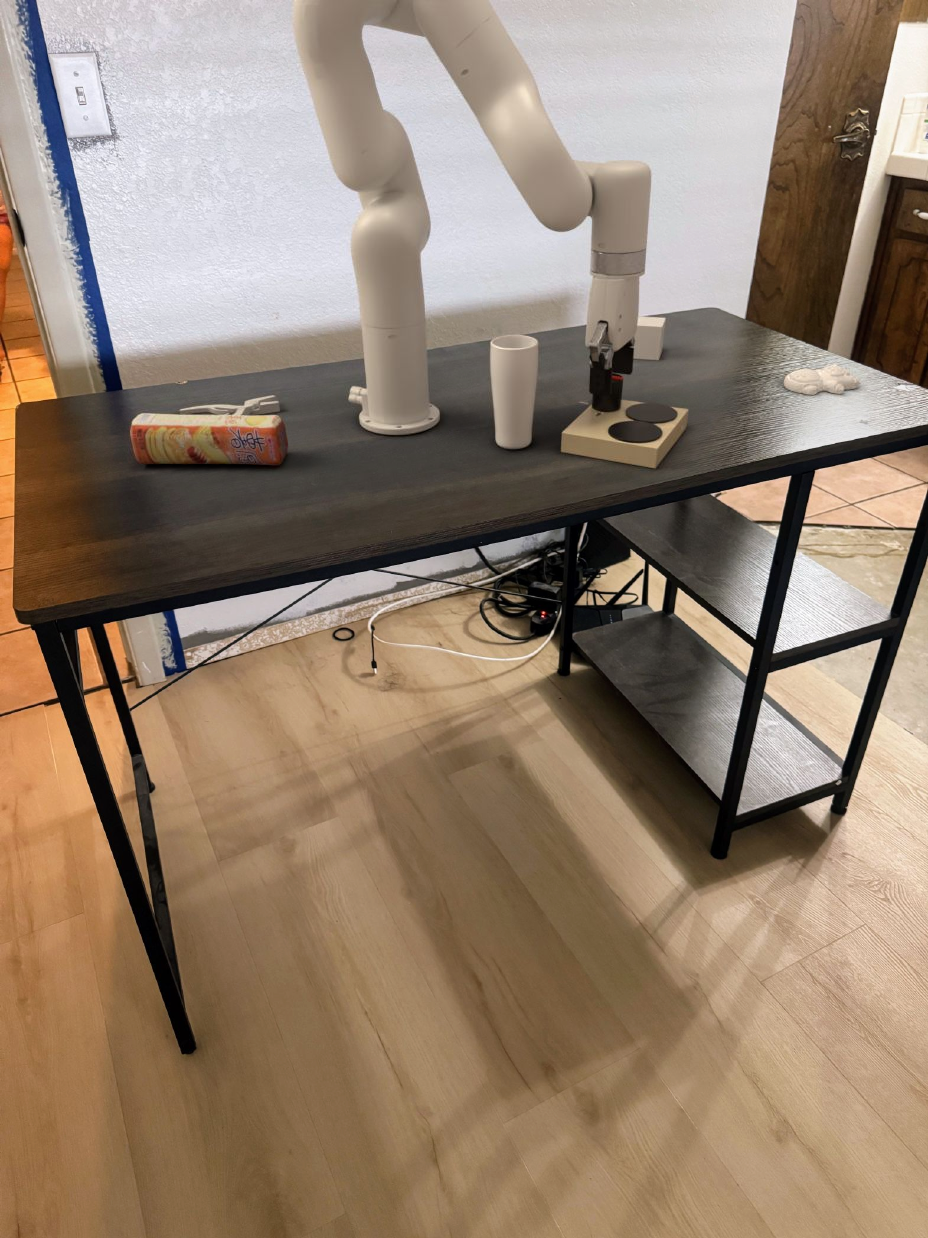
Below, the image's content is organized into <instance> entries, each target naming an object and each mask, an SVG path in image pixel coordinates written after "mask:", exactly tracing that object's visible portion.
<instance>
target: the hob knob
mask: <svg viewBox="0 0 928 1238" xmlns="http://www.w3.org/2000/svg"><path fill="white" fill-rule="evenodd" d="M623 389H624V377H623V376H622V374H618V373H613V372H612V389H611V394H610V395H609V396H604V395H596V394H591V396H592V397H591V404H592V408H593V409H594V410H597V411H601V412H614V411H617V410H619V409H620V408H621V402H622V400H623Z"/></svg>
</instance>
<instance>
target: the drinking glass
mask: <svg viewBox="0 0 928 1238" xmlns="http://www.w3.org/2000/svg"><path fill="white" fill-rule="evenodd" d="M489 347H490V348H489V372H490V373H489V375H490V386H491V397H492V407H493V419H494V432H495V433H494V439H495V443H496V445H497V446H499V447H500V448H502V449H506V450H520V449H524V448H527V447H528V446H530V444H531V443H532V439H533V421H534V412H535V404H536V394H537V387H538V386H537V384H538V376H539V359H540V358H539V355H540V354H539V340H538V339H537V338H536V337H532V336H530V335H524V334H507V335H501V336H497V337H494V338H493V339H492V340H491V341H490V345H489Z"/></svg>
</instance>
